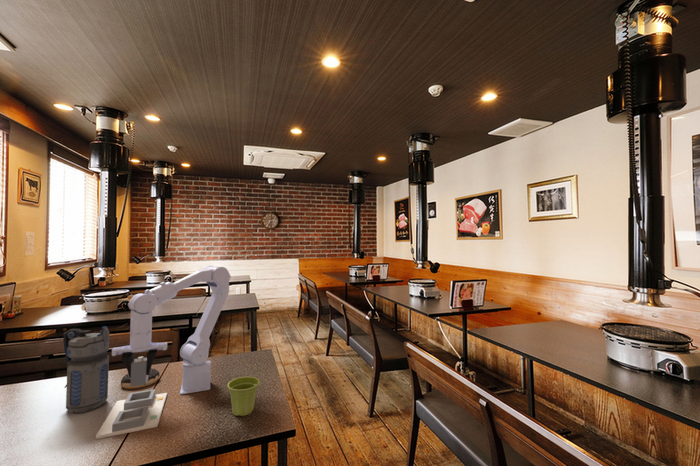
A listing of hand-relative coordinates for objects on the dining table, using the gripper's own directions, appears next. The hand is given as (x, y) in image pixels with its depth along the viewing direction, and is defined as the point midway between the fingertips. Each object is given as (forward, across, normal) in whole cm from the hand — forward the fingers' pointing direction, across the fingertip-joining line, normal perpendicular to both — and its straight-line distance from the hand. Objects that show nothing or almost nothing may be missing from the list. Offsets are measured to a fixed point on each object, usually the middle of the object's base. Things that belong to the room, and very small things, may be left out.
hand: (139, 375), depth 98 cm
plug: (+2, 0, 0) cm, 2 cm away
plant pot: (+10, +30, -15) cm, 35 cm away
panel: (+10, 0, -4) cm, 11 cm away
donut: (+10, -3, +20) cm, 23 cm away
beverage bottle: (+10, -16, +8) cm, 20 cm away
